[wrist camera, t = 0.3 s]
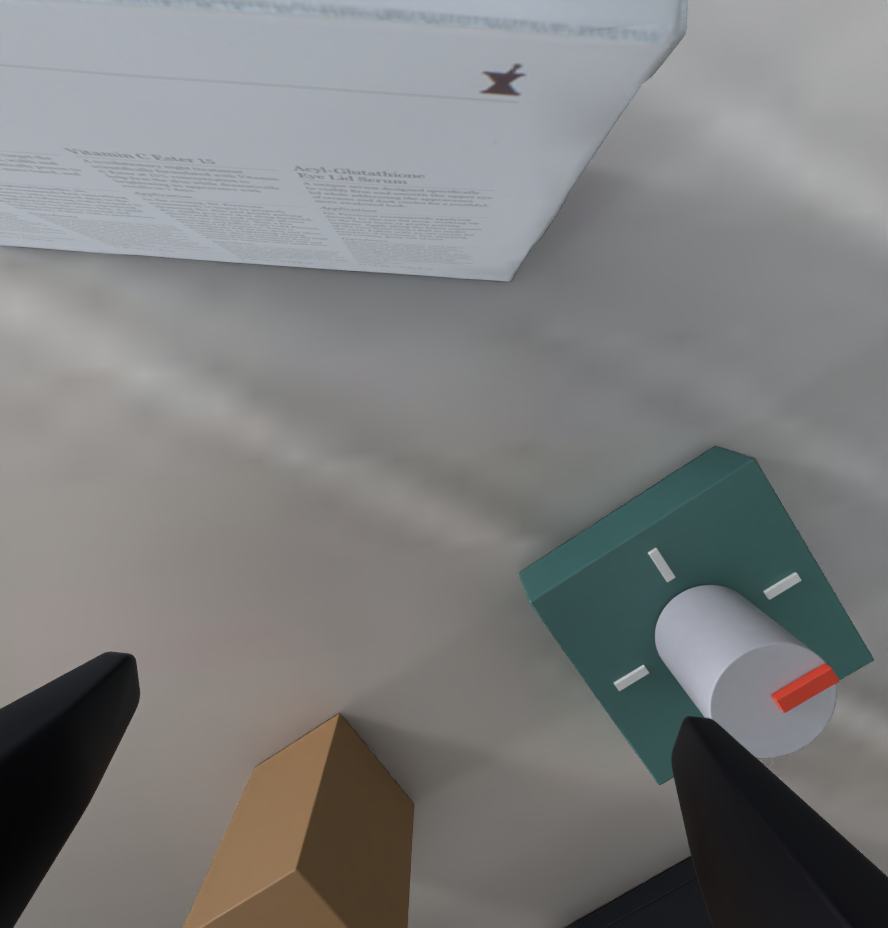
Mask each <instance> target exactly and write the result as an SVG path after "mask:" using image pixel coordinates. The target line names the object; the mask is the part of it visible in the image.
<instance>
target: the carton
mask: <svg viewBox="0 0 888 928" xmlns="http://www.w3.org/2000/svg"><path fill="white" fill-rule="evenodd" d="M413 816H414V804H413V803H412V802H411V800H410V799H409V798H408V797H407V795H406V794H405V793H404V792H403V791H402V789H401V788H400V787H399V786H398V784H397V783H396V782H395V781H394V779H393V778H392V777H391V776H390V775H389V773H388V772H387V771H386V770H385V768H384V767H383V766H382V765H381V763H380V762H379V761H378V760H377V759H376V757H375V756H374V755H373V754H372V752H371V751H370V750H369V749H368V747H367V746H366V745H365V744H364V743H363V741H362V740H361V739H360V738H359V736H358V735H357V734H356V733H355V731H354V730H353V729H352V728H351V727H350V725H349V724H348V723H347V722H346V720H345V719H344V718H343V717H342V715H341V714H338V715H336V716H334V717H333V718H331V719H330V720H328V721H327V722H325V723H324V724H322V725H320V726H319V727H317V728H316V729H314V730H313V731H311V732H310V733H308V734H306V735H305V736H303V737H302V738H300V739H299V740H297V741H295V742H294V743H292V744H291V745H289V746H288V747H286V748H285V749H283V750H281V751H280V752H278V753H277V754H275V755H274V756H272V757H271V758H269V759H267V760H266V761H264V762H263V763H261V764H260V765H258V766H256V767H255V768H254V771H253V773H252V775H251V777H250V779H249V782H248V784H247V786H246V788H245V791H244V793H243V795H242V797H241V799H240V802H239V804H238V806H237V808H236V811H235V813H234V815H233V817H232V819H231V822H230V824H229V826H228V828H227V831H226V833H225V835H224V837H223V840H222V842H221V844H220V846H219V848H218V851H217V853H216V855H215V857H214V860H213V862H212V864H211V866H210V868H209V871H208V873H207V875H206V877H205V880H204V882H203V884H202V886H201V888H200V891H199V893H198V895H197V897H196V900H195V902H194V904H193V906H192V908H191V911H190V913H189V915H188V917H187V920H186V922H185V924H184V926H183V928H407V926H408V908H409V889H410V871H411V853H412V834H413Z"/></svg>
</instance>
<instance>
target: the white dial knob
mask: <svg viewBox="0 0 888 928" xmlns="http://www.w3.org/2000/svg"><path fill="white" fill-rule="evenodd" d="M655 644H656V648H657V651H658V654H659V656H660V657H661V659H662V661H663V662H664V663H665V665H666V666H667V667H668V669H669V670H670V671H671V673H672V674H673V675H674V677H675V678H676V679H677V681H678V682H679V684H680V685H681V686H682V688H683V689H684V690H685V692H686V693H687V694H688V696H689V697H690V698H691V700H692V701H693V702H694V704H695V705H696V706H697V708H698V709H699V710H700V712H701V713H702V714H703V716H704V717H706V718H711V719H713V720H714V721H716V722H717V723H718V724H719V725H720V726H721V727H723V728H724V729H725V730H726V731H727V732H728V733H729V734H730V735H731V736H733V737H734V738H735V739H736V740H737V741H738V742H739V743H740V744H741V745H742V746H744V747H745V748H746V749H747V750H748V751H749V752H750V753H751V754H752V755H754V756H755V757H761V758H772V757H779V756H783V755H787V754H790V753H793V752H795V751H797V750H799V749H801V748H803V747H805V746H806V745H808V744H809V743H811V742H812V741H813V740H814V739H815V738H816V737H817V736H818V735H819V734H820V733H821V732H822V731H823V730H824V728H825V727H826V726H827V724H828V722H829V721H830V719H831V717H832V714H833V712H834V708H835V705H836V697H837V691H836V683H837V682H839V679H838V677H837V676H836V674H835V673H834V671H833V669H832V668H831V667H830V666H829V665H827V664H826V662H825V661H824V660H823V659H822V658H821V657H820V656H819V655H818V654H816V653H815V652H814V651H812V650H811V649H810V648H809V647H807V646H806V645H805V644H803V643H802V642H801V641H800V640H798V639H797V638H796V637H794V636H793V635H792V634H791V633H789V632H788V631H787V630H785V629H784V628H783V627H782V626H780V625H779V624H778V623H776V622H775V621H774V620H773V619H771V618H770V617H769V616H767V615H766V614H765V613H764V612H762V611H761V610H760V609H758V608H757V607H756V606H755V605H753V604H752V603H751V602H750V601H748V600H747V599H746V598H744V597H743V596H742V595H740V594H739V593H738V592H736V591H734V590H732V589H730V588H727V587H724V586H719V585H702V586H697V587H693V588H690V589H688V590H686V591H684V592H682V593H680V594H679V595H677V596H676V597H674V598H673V599H672V600H671V601H670V602H669V603H668V604H667V605H666V607H665V608H664V609H663V611H662V612H661V614H660V616H659V619H658V621H657V624H656V629H655Z"/></svg>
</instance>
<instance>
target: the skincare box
mask: <svg viewBox="0 0 888 928" xmlns="http://www.w3.org/2000/svg"><path fill="white" fill-rule="evenodd" d="M686 29H687V0H0V245H4V246H18V247H31V248H45V249H57V250H69V251H81V252H95V253H109V254H126V255H145V256H157V257H169V258H181V259H194V260H208V261H222V262H236V263H250V264H264V265H277V266H291V267H305V268H319V269H334V270H349V271H365V272H380V273H395V274H409V275H423V276H437V277H450V278H464V279H479V280H494V281H512V280H513V279H514V277H515V275H516V271H517V269H518V268H519V266H520V264H521V263H522V261H523V260H524V258H525V257H526V255H527V254H528V252H529V251H530V250H531V248H532V247H533V245H534V244H535V243H536V242H537V241H538V240H539V239H540V238H541V237H542V236H543V234H544V233H545V232H546V230H547V229H548V227H549V226H550V224H551V223H552V221H553V220H554V218H555V217H556V215H557V214H558V212H559V210H560V209H561V207H562V206H563V204H564V202H565V198H566V196H567V194H568V193H569V191H570V189H571V188H572V187H573V185H574V184H575V182H576V181H577V179H578V178H579V176H580V175H581V173H582V172H583V171H584V169H585V168H586V166H587V165H588V163H589V162H590V160H591V159H592V157H593V156H594V154H595V153H596V151H597V150H598V148H599V147H600V145H601V144H602V142H603V141H604V139H605V138H606V136H607V135H608V133H609V132H610V130H611V129H612V127H613V126H614V124H615V123H616V121H617V120H618V118H619V117H620V115H621V114H622V112H623V111H624V109H625V108H626V106H627V105H628V104H629V102H630V101H631V99H632V98H633V97H634V95H635V94H636V92H637V91H638V90H639V88H640V87H641V85H642V84H644V83H645V82H646V81H647V80H648V79H649V78H651V77H652V76H653V74H654V73H655V72H656V71H657V70H658V68H659V67H660V66H661V65H662V64H663V63H664V61H665V60H666V59H667V57H668V56H669V55H670V54H671V52H672V51H673V50H674V48H675V47H676V46H677V45H678V43H679V42H680V41H681V39H682V38H683V37H684V36H685V34H686Z"/></svg>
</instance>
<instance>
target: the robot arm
mask: <svg viewBox="0 0 888 928" xmlns="http://www.w3.org/2000/svg"><path fill="white" fill-rule="evenodd" d="M139 699H140V687H139V679H138V672H137V664H136V659H135V657H134V656H133V655H131V654H129V653H119V652H106V653H103V654H101V655H99V656H97V657H96V658H94V659H92V660H90V661H88V662H86V663H84V664H83V665H81V666H79V667H77V668H75V669H73V670H71V671H70V672H68V673H66V674H64V675H62V676H60V677H59V678H57V679H55V680H53V681H51V682H49V683H47V684H46V685H44V686H42V687H40V688H38V689H36V690H35V691H33V692H31V693H29V694H27V695H25V696H23V697H22V698H20V699H18V700H16V701H14V702H12V703H11V704H9V705H7V706H5V707H3V708H1V709H0V928H13V927H14V925H15V924H16V922H17V921H18V919H19V917H20V916H21V914H22V912H23V911H24V909H25V908H26V906H27V904H28V903H29V901H30V899H31V898H32V896H33V895H34V893H35V891H36V890H37V888H38V886H39V885H40V883H41V882H42V880H43V878H44V877H45V875H46V873H47V872H48V870H49V869H50V867H51V865H52V864H53V862H54V860H55V859H56V857H57V856H58V854H59V852H60V851H61V849H62V847H63V846H64V844H65V843H66V841H67V839H68V838H69V836H70V834H71V833H72V831H73V830H74V828H75V826H76V825H77V823H78V821H79V820H80V818H81V816H82V815H83V813H84V811H85V810H86V808H87V806H88V805H89V803H90V801H91V799H92V797H93V795H94V793H95V791H96V790H97V788H98V786H99V784H100V782H101V780H102V778H103V775H104V773H105V771H106V769H107V767H108V765H109V763H110V761H111V759H112V757H113V755H114V753H115V751H116V749H117V747H118V745H119V743H120V741H121V739H122V737H123V735H124V733H125V731H126V729H127V727H128V725H129V723H130V721H131V719H132V717H133V715H134V713H135V711H136V708H137V706H138V703H139ZM671 765H672V771H673V775H674V780H675V784H676V789H677V794H678V798H679V803H680V807H681V812H682V816H683V821H684V825H685V830H686V834H687V839H688V843H689V848H690V852H691V857H692V861H693V865H694V869H695V872H696V876H697V879H698V882H699V886H700V889H701V892H702V895H703V898H704V901H705V904H706V908H707V911H708V914H709V917H710V920H711V923H712V926H713V928H888V877H887V876H886V875H885V874H884V873H883V872H882V871H881V870H880V869H878V868H877V867H876V866H875V865H874V864H873V863H872V862H871V861H870V860H868V859H867V858H866V857H865V856H864V855H863V854H862V853H861V852H860V851H859V850H857V849H856V848H855V847H854V846H853V845H852V844H851V843H850V842H849V841H847V840H846V839H845V838H844V837H843V836H842V835H841V834H840V833H839V832H838V831H836V830H835V829H834V828H833V827H832V826H831V825H830V824H829V823H828V822H826V821H825V820H824V819H823V818H822V817H821V816H820V815H819V814H818V813H817V812H815V811H814V810H813V809H812V808H811V807H810V806H809V805H808V804H807V803H805V802H804V801H803V800H802V799H801V798H800V797H799V796H798V795H797V794H796V793H794V792H793V791H792V790H791V789H790V788H789V787H788V786H787V785H786V784H784V783H783V782H782V781H781V780H780V779H779V778H778V777H777V776H776V775H775V774H773V773H772V772H771V771H770V770H769V769H768V768H767V767H766V766H765V765H763V764H762V763H761V762H760V761H759V760H758V759H757V758H756V757H755V756H754V755H752V754H751V753H750V752H749V751H748V750H747V749H746V748H745V747H744V746H742V745H741V744H740V743H739V742H738V741H737V740H736V739H735V738H734V737H733V736H731V735H730V734H729V733H728V732H727V731H726V730H725V729H724V728H723V727H721V726H720V725H719V724H718V723H717V722H716V721H714V720H713V719H711V718H706V717H697V716H687V717H685V718H684V719H683V721H682V724H681V727H680V730H679V732H678V735H677V738H676V741H675V744H674V747H673V750H672V755H671Z"/></svg>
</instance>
